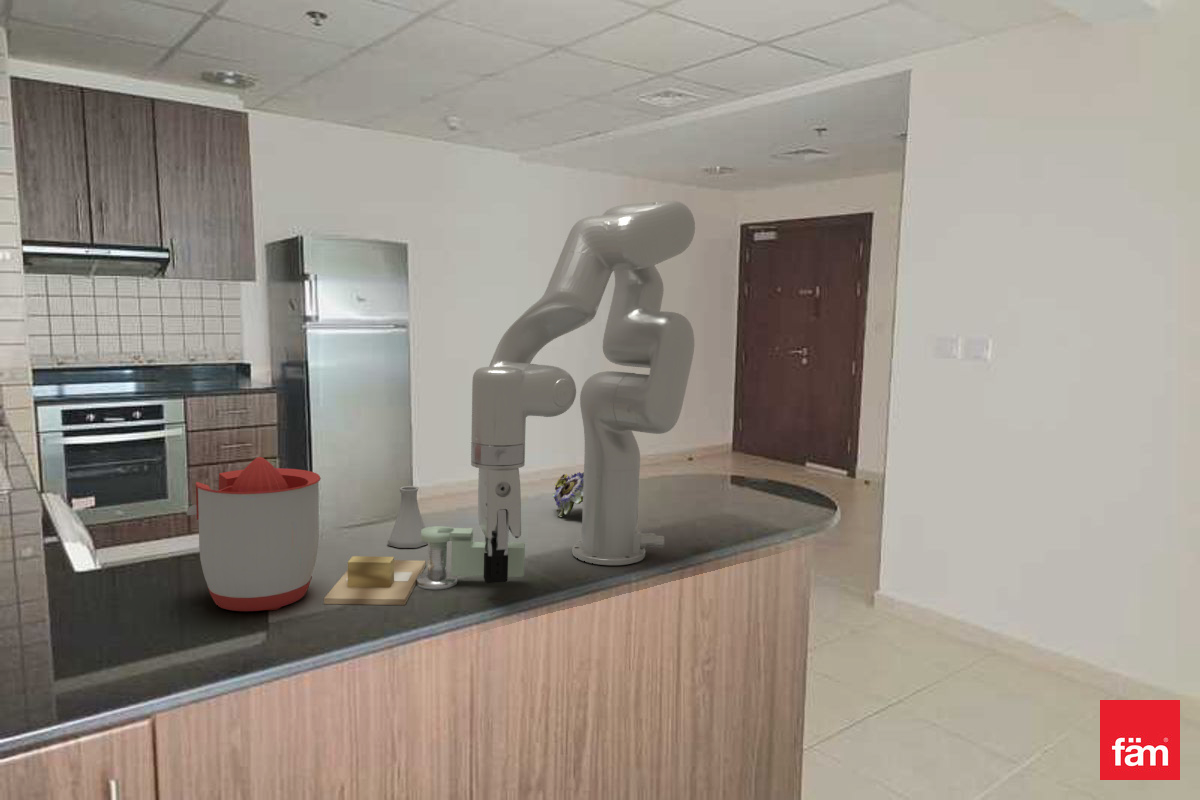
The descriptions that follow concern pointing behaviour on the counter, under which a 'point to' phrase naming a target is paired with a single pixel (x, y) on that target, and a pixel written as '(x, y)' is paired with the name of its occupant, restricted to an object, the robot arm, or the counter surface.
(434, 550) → the post
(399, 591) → the oak board
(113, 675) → the counter surface
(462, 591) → the counter surface
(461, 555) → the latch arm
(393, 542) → the flask
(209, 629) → the counter surface
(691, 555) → the counter surface
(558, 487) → the passion flower
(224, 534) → the citrus juicer
